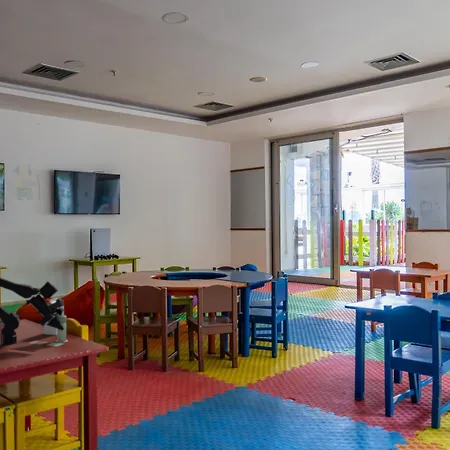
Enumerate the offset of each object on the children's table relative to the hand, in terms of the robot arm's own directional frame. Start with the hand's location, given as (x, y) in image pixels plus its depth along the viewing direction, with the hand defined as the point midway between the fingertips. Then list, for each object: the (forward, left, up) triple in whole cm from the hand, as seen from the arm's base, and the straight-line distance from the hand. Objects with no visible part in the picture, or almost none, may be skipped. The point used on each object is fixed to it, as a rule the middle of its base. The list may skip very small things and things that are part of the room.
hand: (64, 328), depth 236 cm
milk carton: (-16, +13, -7) cm, 22 cm away
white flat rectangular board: (-5, -4, -7) cm, 9 cm away
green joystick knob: (-1, 0, -6) cm, 6 cm away
